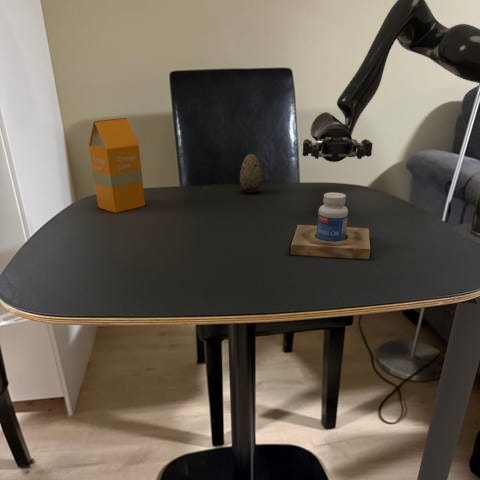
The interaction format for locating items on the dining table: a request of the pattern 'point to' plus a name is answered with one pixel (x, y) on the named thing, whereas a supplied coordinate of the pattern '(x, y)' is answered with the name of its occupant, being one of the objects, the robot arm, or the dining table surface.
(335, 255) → the pad
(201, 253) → the dining table surface
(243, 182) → the decorative egg
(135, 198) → the orange juice
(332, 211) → the pill bottle
